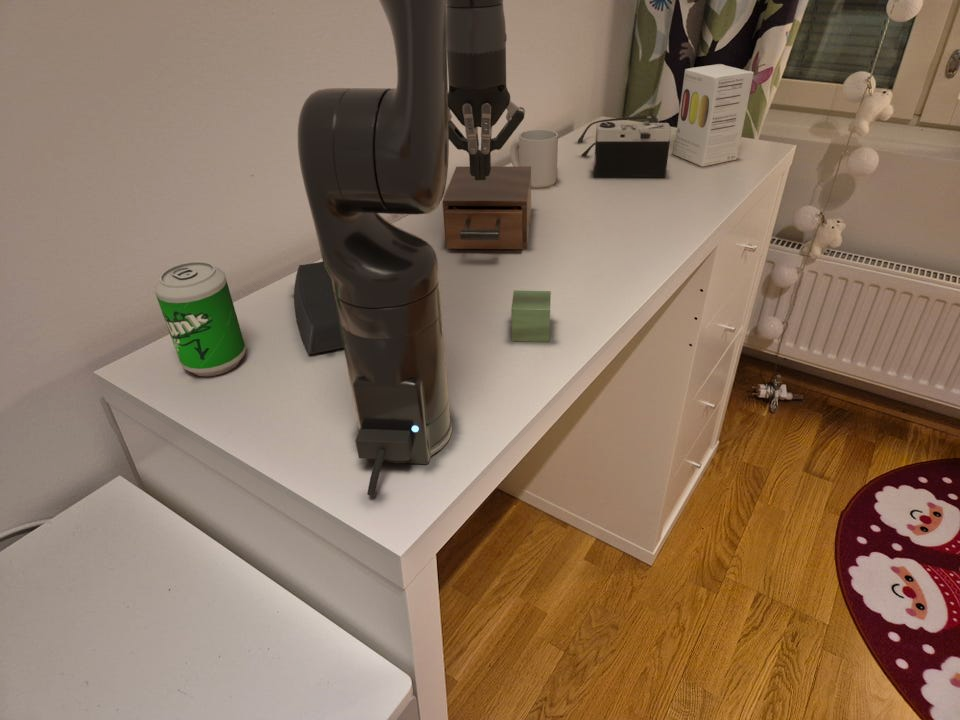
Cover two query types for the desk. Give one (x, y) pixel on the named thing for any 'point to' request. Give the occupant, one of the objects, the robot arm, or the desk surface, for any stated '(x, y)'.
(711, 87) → the supplement box
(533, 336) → the block
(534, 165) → the cup
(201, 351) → the soda can
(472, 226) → the drawer
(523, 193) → the cabinet
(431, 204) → the robot arm
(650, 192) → the desk surface
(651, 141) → the camera
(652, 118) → the sunglasses
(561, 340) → the desk surface
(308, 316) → the hard drive
